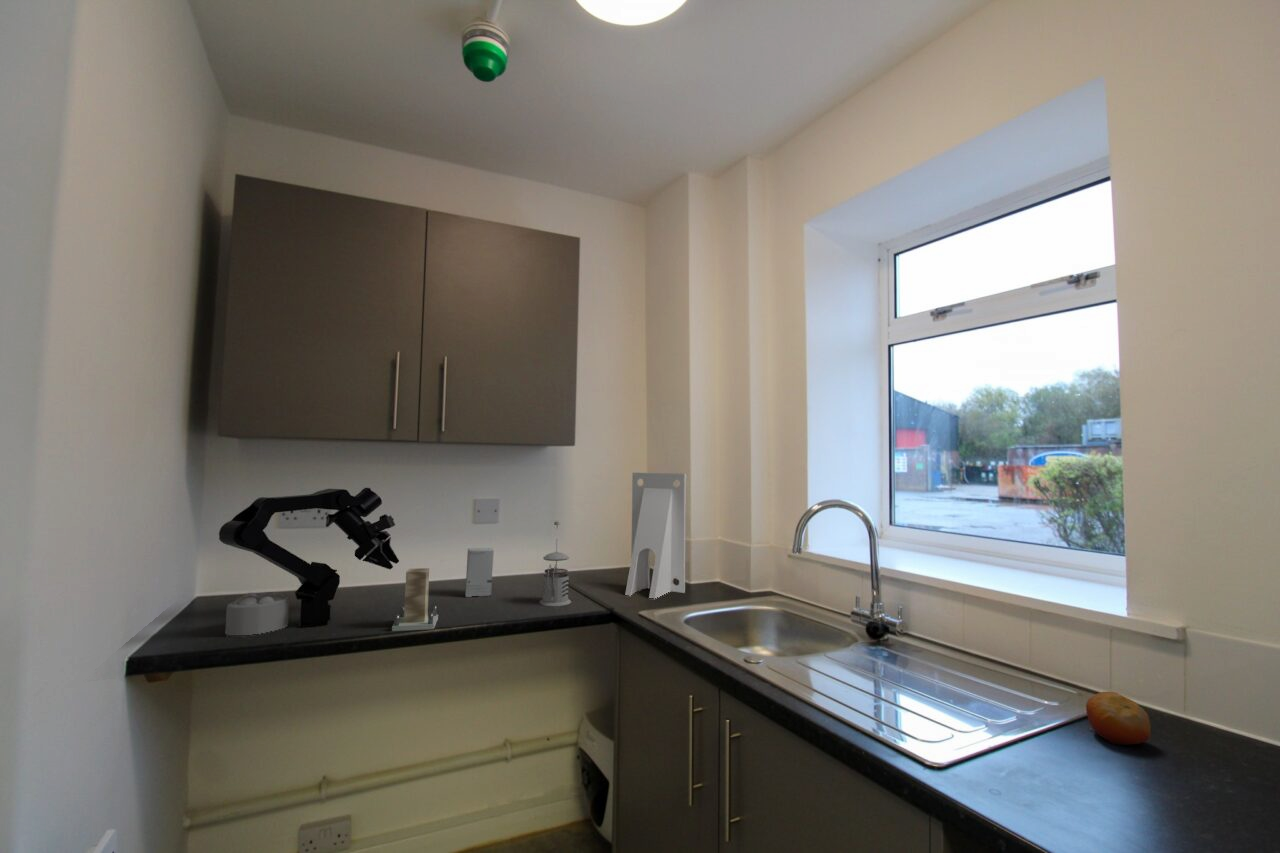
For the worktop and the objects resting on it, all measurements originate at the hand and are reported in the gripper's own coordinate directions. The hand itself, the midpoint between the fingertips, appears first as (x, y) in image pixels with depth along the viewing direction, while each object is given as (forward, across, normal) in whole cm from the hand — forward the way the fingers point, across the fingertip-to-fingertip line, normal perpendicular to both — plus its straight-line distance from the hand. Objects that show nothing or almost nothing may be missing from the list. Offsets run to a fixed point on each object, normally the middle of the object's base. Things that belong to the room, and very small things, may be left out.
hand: (395, 565), depth 163 cm
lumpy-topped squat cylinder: (-12, -9, +32) cm, 35 cm away
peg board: (+15, -12, +4) cm, 20 cm away
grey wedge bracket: (+65, +13, -45) cm, 80 cm away
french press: (+42, +6, -22) cm, 48 cm away
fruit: (+99, -101, -80) cm, 163 cm away
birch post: (+14, -12, +3) cm, 19 cm away
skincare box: (+26, +20, -6) cm, 33 cm away
